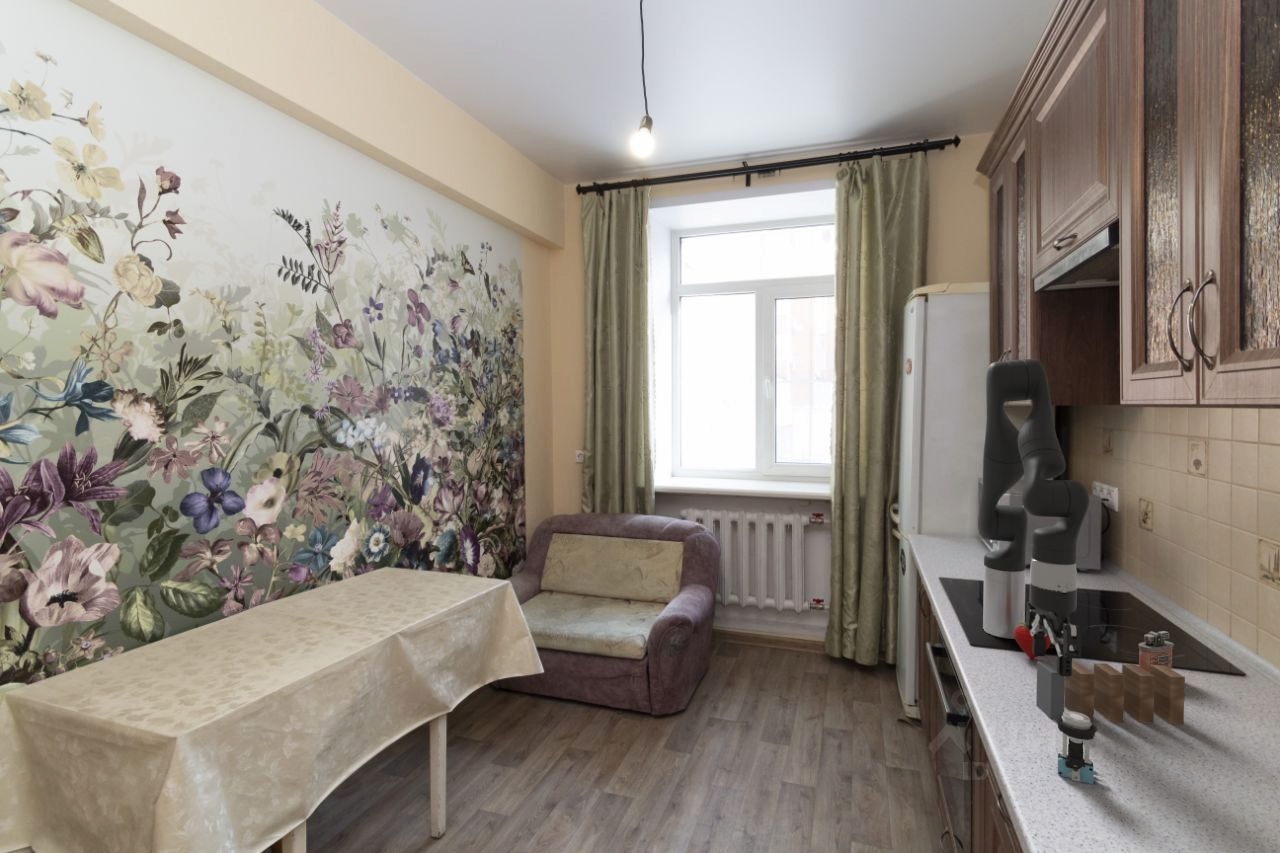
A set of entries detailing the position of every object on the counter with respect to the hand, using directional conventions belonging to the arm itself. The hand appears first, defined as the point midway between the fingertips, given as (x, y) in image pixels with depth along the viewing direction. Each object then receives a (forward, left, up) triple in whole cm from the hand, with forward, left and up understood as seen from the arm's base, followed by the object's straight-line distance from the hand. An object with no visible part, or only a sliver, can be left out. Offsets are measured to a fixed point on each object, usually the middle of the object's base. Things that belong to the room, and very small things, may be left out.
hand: (1051, 665), depth 117 cm
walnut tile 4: (0, +5, -9) cm, 11 cm away
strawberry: (-25, +9, -10) cm, 28 cm away
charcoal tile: (0, 0, -9) cm, 9 cm away
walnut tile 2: (0, +15, -9) cm, 18 cm away
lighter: (-17, +30, -10) cm, 36 cm away
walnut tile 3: (0, +10, -9) cm, 14 cm away
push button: (+21, -7, -10) cm, 24 cm away
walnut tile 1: (0, +21, -9) cm, 23 cm away
